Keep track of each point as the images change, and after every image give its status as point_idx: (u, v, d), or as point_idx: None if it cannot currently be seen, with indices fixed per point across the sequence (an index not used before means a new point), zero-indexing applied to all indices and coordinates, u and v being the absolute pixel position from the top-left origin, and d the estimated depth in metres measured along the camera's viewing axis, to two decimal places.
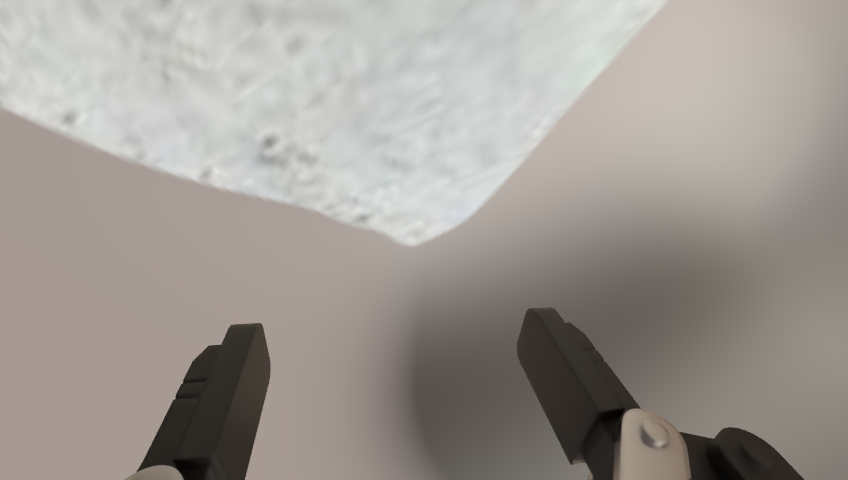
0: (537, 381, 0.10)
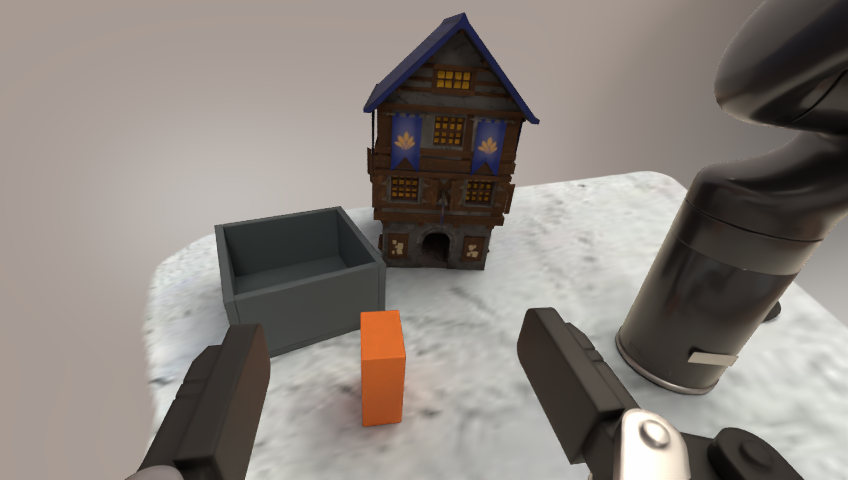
0: (537, 381, 0.10)
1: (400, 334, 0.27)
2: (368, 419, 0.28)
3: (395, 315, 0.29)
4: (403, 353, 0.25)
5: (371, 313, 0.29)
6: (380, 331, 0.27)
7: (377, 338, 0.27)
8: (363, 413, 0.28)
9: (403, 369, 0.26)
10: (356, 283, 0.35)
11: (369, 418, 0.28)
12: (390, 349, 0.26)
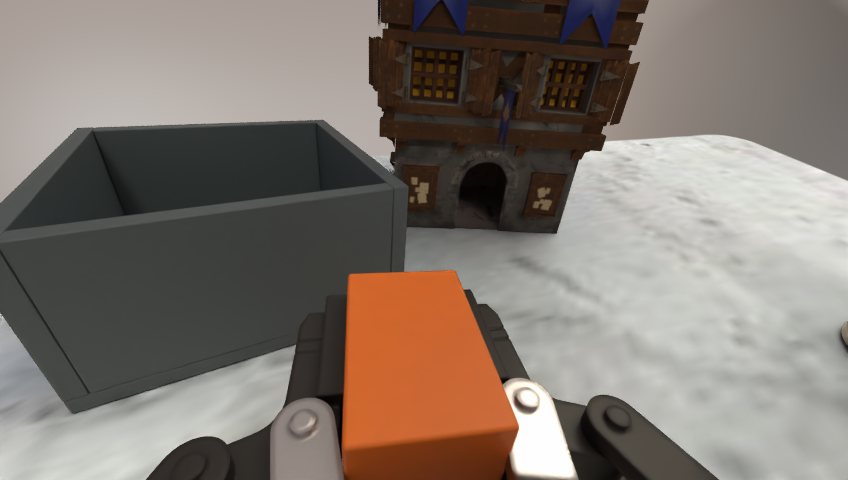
0: None
1: (478, 338, 0.08)
2: None
3: (450, 284, 0.10)
4: (508, 412, 0.07)
5: (380, 277, 0.10)
6: (409, 329, 0.08)
7: (404, 353, 0.08)
8: None
9: (501, 468, 0.07)
10: (346, 225, 0.16)
11: None
12: (456, 395, 0.07)
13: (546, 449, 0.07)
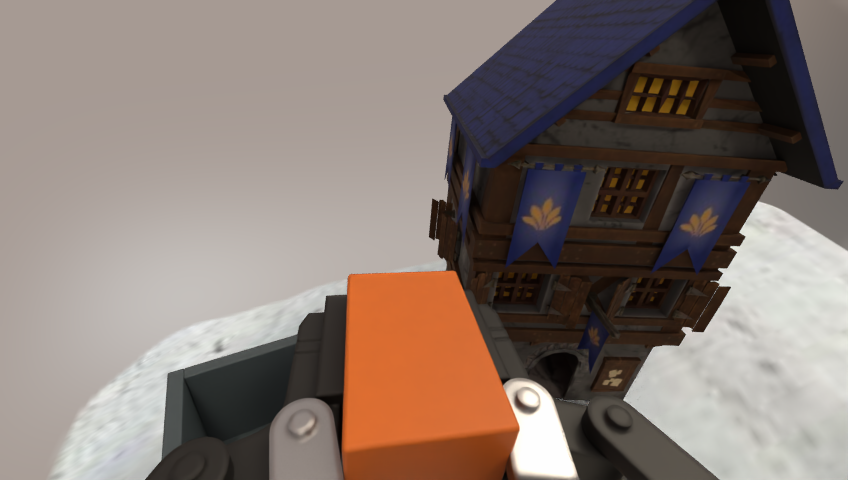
0: None
1: (478, 339, 0.08)
2: None
3: (451, 284, 0.10)
4: (508, 413, 0.07)
5: (380, 277, 0.10)
6: (409, 330, 0.08)
7: (405, 354, 0.08)
8: None
9: (501, 469, 0.07)
10: None
11: None
12: (457, 396, 0.07)
13: (548, 449, 0.07)
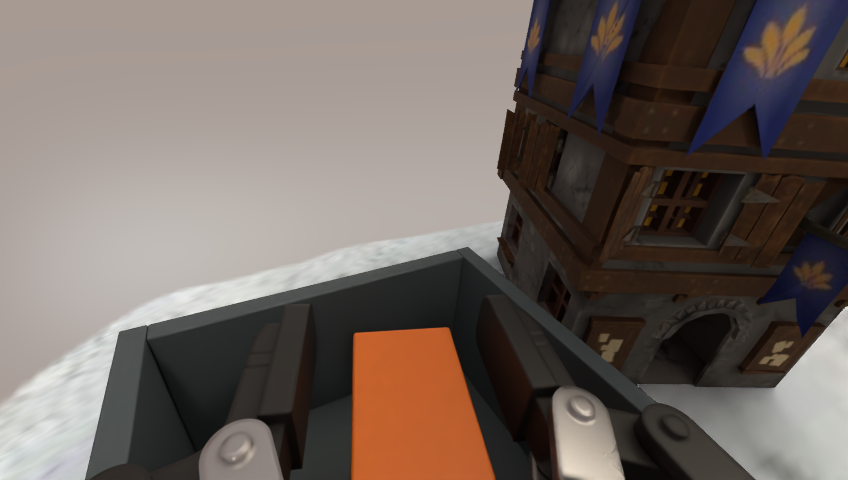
0: (490, 365, 0.11)
1: (466, 400, 0.09)
2: None
3: (444, 342, 0.11)
4: (489, 475, 0.08)
5: (381, 336, 0.11)
6: (407, 392, 0.10)
7: (402, 417, 0.09)
8: None
9: None
10: None
11: None
12: (447, 459, 0.08)
13: (597, 459, 0.07)
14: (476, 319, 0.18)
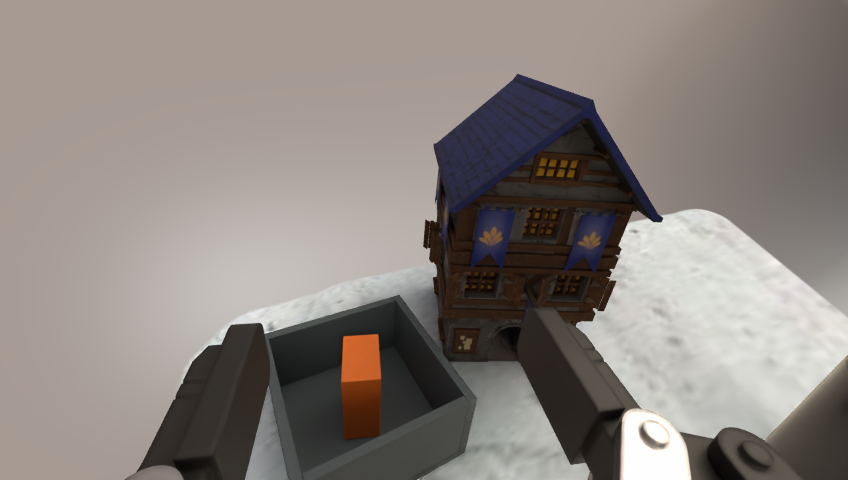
0: (537, 381, 0.10)
1: (377, 357, 0.30)
2: (349, 433, 0.31)
3: (375, 339, 0.32)
4: (379, 375, 0.29)
5: (353, 337, 0.32)
6: (359, 355, 0.30)
7: (357, 361, 0.30)
8: (344, 428, 0.31)
9: (379, 389, 0.29)
10: (443, 426, 0.28)
11: (350, 432, 0.31)
12: (368, 372, 0.29)
13: None
14: (401, 329, 0.39)
